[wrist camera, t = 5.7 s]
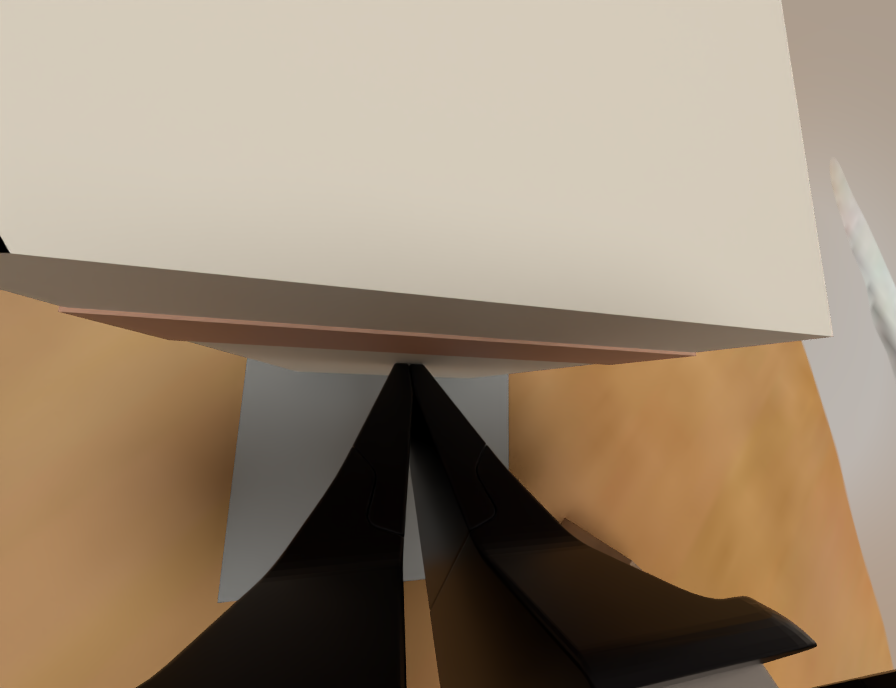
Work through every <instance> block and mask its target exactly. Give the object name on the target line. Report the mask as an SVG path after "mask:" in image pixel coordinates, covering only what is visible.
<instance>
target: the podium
mask: <svg viewBox="0 0 896 688" xmlns="http://www.w3.org/2000/svg"><path fill="white" fill-rule="evenodd" d="M387 377H388V375H366V374H341V373H315V372H296V371H293V370H289V369H286V368H282V367H278V366H275V365H271V364H268V363H264V362H260V361H257V360H253V359H250V358H247V364H246V372H245V380H244V389H243V397H242V405H241V413H240V422H239V430H238V438H237V446H236V454H235V463H234V471H233V479H232V487H231V496H230V504H229V512H228V520H227V529H226V537H225V545H224V553H223V561H222V570H221V578H220V586H219V594H218V603H221V602H229V601H238V600H239V599H240V598H241V597H242V596H243V595H244V594H245V593H246V592H247V591H249V590H250V589H251V588H252V587H253V586H254V585H255V584H256V583H257V582H258V581H259V580H260V579H261V578H262V577H263V576H264V575H265V574H266V573H267V572H268V571H269V569H270V568H271V567H272V566H273V565H274V563H275V562H276V561H277V560H278V558H279V557H280V556H281V554H282V553H283V552H284V550H285V549H286V548H287V546H288V545H289V543H290V542H291V541H292V539H293V538H294V536H295V535H296V533H297V532H298V531H299V529H300V528H301V526H302V525H303V523H304V522H305V521H306V519H307V518H308V516H309V515H310V513H311V512H312V511H313V509H314V508H315V506H316V505H317V503H318V502H319V501H320V499H321V498H322V496H323V495H324V493H325V492H326V490H327V489H328V487H329V486H330V484H331V482H332V481H333V479H334V478H335V476H336V474H337V473H338V471H339V469H340V467H341V466H342V464H343V462H344V460H345V458H346V456H347V455H348V453H349V451H350V449H351V447H352V446H353V443H354V441H355V439H356V437H357V436H358V434H359V432H360V430H361V428H362V426H363V424H364V422H365V420H366V418H367V416H368V414H369V412H370V410H371V408H372V406H373V404H374V402H375V401H376V399H377V397H378V395H379V393H380V391H381V389H382V387H383V385H384V383H385V381H386V379H387ZM434 378H435V380H436V381H437V382H438V383H439V385H440V386H441V387H442V388H443V390H444V391H445V392H446V393H447V395H448V396H449V397H450V398H451V400H452V401H453V402H454V403H455V405H456V406H457V407H458V408H459V410H460V411H461V412H462V413H463V415H464V416H465V417H466V419H467V420H468V421H469V422H470V424H471V425H472V426H473V427H474V429H475V430H476V431H477V432H478V434H479V435H480V436H481V437H482V439H483V440H484V441H485V442H486V445H488V446H489V447H490V448H491V450H492V451H493V452H494V454H495V455H496V456H497V457H498V458H499V460H500V461H501V462H502V463H503V464H504V465H505V467H506V468H507V469H508V470H509V431H508V374H503V375H495V376H486V377H477V378H443V377H434ZM486 445H485V446H486ZM420 579H425V573H424V565H423V558H422V551H421V544H420V537H419V530H418V522H417V515H416V508H415V501H414V494H413V486H412V479H411V472H410V465H409V475H408V490H407V505H406V521H405V536H404V553H403V581H412V580H420Z"/></svg>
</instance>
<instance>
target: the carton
mask: <svg viewBox="0 0 896 688" xmlns="http://www.w3.org/2000/svg"><path fill="white" fill-rule="evenodd" d="M0 289H1V290H4V291H8V292H12V293H15V294H19V295H22V296H26V297H30V298H33V299H37V300H40V301H44V302H48V303H51V304H55V305H58V306H59V310H58V312H62V313H66V314H70V315H74V316H77V317H81V318H85V319H89V320H93V321H97V322H101V323H105V324H109V325H112V326H116V327H120V328H124V329H128V330H132V331H136V332H140V333H144V334H147V335H151V336H155V337H159V338H163V339H167V340H177V341H188V342H192V343H195V344H199V345H203V346H206V347H210V348H214V349H217V350H221V351H224V352H228V353H232V354H235V355H239V356H242V357H246V358H250V359H253V360H257V361H260V362H264V363H268V364H271V365H275V366H278V367H282V368H286V369H289V370H293V371H296V372H315V373H341V374H366V375H389V373H390V371H391V369H392V367H393V366H394V364H395V363H407V364H409V365H410V364H423V365H424V366H425V367H426V368H427V369H428V371H429V372H430V373H431V375H432V376H433V377H443V378H477V377H486V376H495V375H503V374H512V373H521V372H530V371H538V370H547V369H556V368H564V367H573V366H582V365H591V364H605V365H613V364H622V363H632V362H641V361H651V360H660V359H670V358H679V357H689V356H696V352H704V351H713V350H721V349H730V348H739V347H747V346H756V345H765V344H773V343H782V342H791V341H800V340H808V339H817V338H826V337H833V332H832V325H831V319H830V312H829V306H828V299H827V294H826V286H825V280H824V273H823V267H822V260H821V254H820V248H819V241H818V235H817V229H816V222H815V216H814V209H813V203H812V196H811V190H810V183H809V177H808V170H807V164H806V158H805V151H804V145H803V139H802V132H801V125H800V119H799V112H798V106H797V100H796V93H795V87H794V80H793V74H792V67H791V61H790V55H789V48H788V41H787V35H786V29H785V22H784V16H783V9H782V3H781V0H0Z"/></svg>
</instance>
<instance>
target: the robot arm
mask: <svg viewBox="0 0 896 688" xmlns="http://www.w3.org/2000/svg"><path fill="white" fill-rule="evenodd" d="M485 445H486V442H485V441H484V440H483V439H482V437H481V436H480V435H479V434H478V432H477V431H476V430H475V429H474V427H473V426H472V425H471V424H470V422H469V421H468V420H467V419H466V417H465V416H464V415H463V413H462V412H461V411H460V410H459V408H458V407H457V406H456V405H455V403H454V402H453V401H452V400H451V398H450V397H449V396H448V395H447V393H446V392H445V391H444V390H443V388H442V387H441V386H440V385H439V383H438V382H437V381H436V380H435V378H434V377H433V376H432V375H431V373H430V372H429V371H428V369H427V368H426V367H425V366H424V365H423V364H410V365H409V364H407V363H395V364H394V366H393V367H392V369H391V371H390V373H389V375H388V377H387V379H386V381H385V383H384V385H383V387H382V389H381V391H380V393H379V395H378V397H377V399H376V401H375V402H374V404H373V406H372V408H371V410H370V412H369V414H368V416H367V418H366V420H365V422H364V424H363V426H362V428H361V430H360V432H359V434H358V436H357V437H356V439H355V441H354V443H353V446H352V447H351V449H350V451H349V453H348V455H347V456H346V458H345V460H344V462H343V464H342V466H341V467H340V469H339V471H338V473H337V474H336V476H335V478H334V479H333V481H332V482H331V484H330V486H329V487H328V489H327V490H326V492H325V493H324V495H323V496H322V498H321V499H320V501H319V502H318V503H317V505H316V506H315V508H314V509H313V511H312V512H311V513H310V515H309V516H308V518H307V519H306V521H305V522H304V523H303V525H302V526H301V528H300V529H299V531H298V532H297V533H296V535H295V536H294V538H293V539H292V541H291V542H290V543H289V545H288V546H287V548H286V549H285V550H284V552H283V553H282V554H281V556H280V557H279V558H278V560H277V561H276V562H275V563H274V565H273V566H272V567H271V568H270V569H269V571H268V572H267V573H266V574H265V575H264V576H263V577H262V578H261V579H260V580H259V581H258V582H257V583H256V584H255V585H254V586H253V587H252V588H251V589H250V590H249V591H247V592H246V593H245V594H244V595H243V596H242V597H241V598H240V599H239V600H238V601H236V602H235V603H234V604H233V605H232V606H231V607H230V608H229V609H228V610H227V611H225V612H224V613H223V614H222V615H221V616H220V617H219V618H218V619H217V620H216V621H214V622H213V623H212V624H211V625H210V626H209V627H208V628H207V629H206V630H205V631H203V632H202V633H201V634H200V635H199V636H198V637H197V638H196V639H195V640H194V641H192V642H191V643H190V644H189V645H188V646H187V647H186V648H185V649H184V650H183V651H182V652H180V653H179V654H178V655H177V656H176V657H175V658H174V659H173V660H172V661H171V662H169V663H168V664H167V665H166V666H165V667H164V668H162V669H161V670H160V671H159V672H157V673H156V674H155V675H154V676H152V677H151V678H150V679H149V680H147V681H145V682H144V683H142V684H141V685H139V686H138V687H136V688H407V684H406V652H405V619H404V587H403V553H404V536H405V521H406V505H407V490H408V475H409V465H410V472H411V479H412V486H413V494H414V501H415V508H416V515H417V522H418V530H419V537H420V544H421V551H422V558H423V565H424V573H425V580H426V587H427V594H428V601H429V608H430V610H431V611H430V616H431V624H432V631H433V638H434V645H435V652H436V659H437V667H438V674H439V681H440V688H778V686H777V685H776V683H775V682H774V680H773V679H772V677H771V676H770V674H769V673H768V671H767V670H766V668H765V667H764V665H763V663H766V662H770V661H773V660H776V659H780V658H783V657H786V656H790V655H793V654H796V653H800V652H803V651H806V650H809V649H812V648H814V647H816V646H817V644H816V642H815V641H814V640H812V639H811V638H810V637H809V636H808V635H807V634H806V633H805V632H804V631H803V630H802V629H801V628H799V627H798V626H797V625H795V624H794V623H793V622H791V621H790V620H789V619H787V618H786V617H784V616H782V615H781V614H779V613H778V612H776V611H774V610H772V609H771V608H769V607H767V606H765V605H763V604H761V603H759V602H757V601H756V600H754V599H752V598H750V597H747V596H740V597H732V598H726V599H713V598H708V597H703V596H700V595H697V594H694V593H691V592H688V591H686V590H683V589H681V588H679V587H676V586H674V585H672V584H670V583H668V582H666V581H663V580H661V579H659V578H657V577H655V576H653V575H650V574H648V573H646V572H644V571H642V570H640V569H638V568H635V567H633V566H631V565H629V564H627V563H625V562H622V561H620V560H618V559H616V558H614V557H612V556H610V555H607V554H605V553H603V552H601V551H599V550H597V549H594V548H592V547H590V546H588V545H587V544H585V543H583V542H582V541H580V540H579V539H577V538H576V537H575V536H573V535H572V534H571V533H570V532H568V531H567V530H566V529H565V528H564V527H563V526H562V525H561V524H560V523H559V522H558V521H557V520H556V519H555V518H554V517H553V516H552V515H551V514H550V513H549V512H548V511H547V510H546V509H545V508H544V507H543V506H542V505H541V504H540V503H539V502H538V501H537V500H536V499H535V498H534V497H533V496H532V494H531V493H530V492H529V491H528V490H527V489H526V488H525V487H524V486H523V485H522V484H521V483H520V482H519V481H518V480H517V479H516V478H515V477H514V476H513V474H512V473H511V472H510V471H509V470H508V469H507V468H506V467H505V465H504V464H503V463H502V462H501V461H500V460H499V458H498V457H497V456H496V455H495V454H494V452H493V451H492V450H491V448H490V447H489V446H488V445H486V446H485ZM813 688H896V669H895V670H890V671H886V672H881V673H877V674H872V675H867V676H863V677H858V678H854V679H849V680H844V681H840V682H835V683H831V684H826V685H822V686H817V687H813Z"/></svg>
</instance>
